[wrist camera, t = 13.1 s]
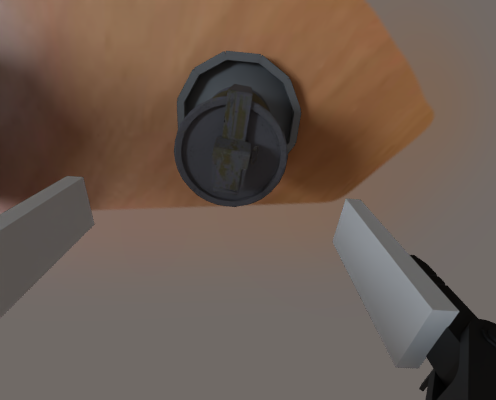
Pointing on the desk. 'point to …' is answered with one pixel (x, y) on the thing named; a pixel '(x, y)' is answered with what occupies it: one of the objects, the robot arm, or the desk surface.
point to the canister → (231, 148)
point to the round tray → (248, 74)
